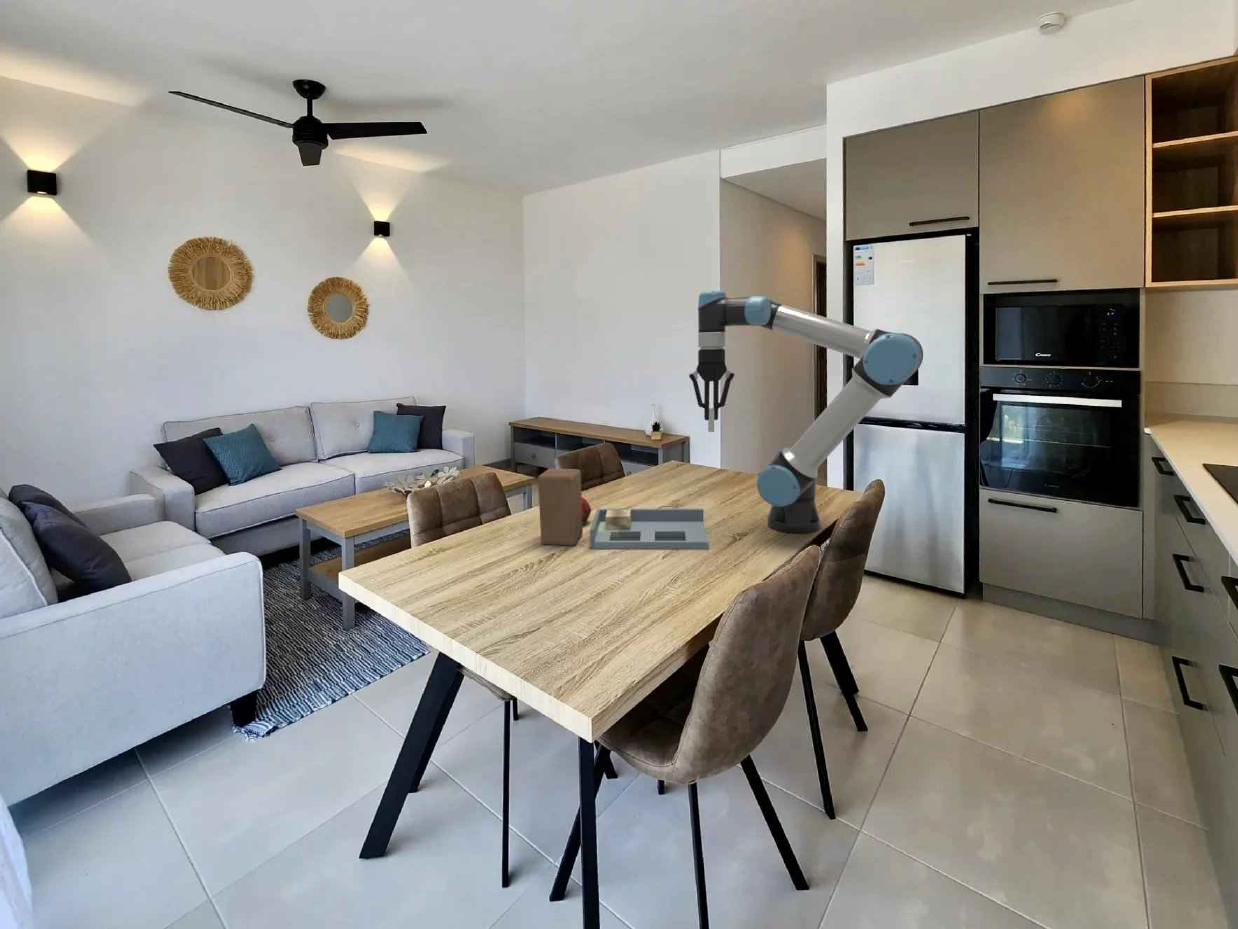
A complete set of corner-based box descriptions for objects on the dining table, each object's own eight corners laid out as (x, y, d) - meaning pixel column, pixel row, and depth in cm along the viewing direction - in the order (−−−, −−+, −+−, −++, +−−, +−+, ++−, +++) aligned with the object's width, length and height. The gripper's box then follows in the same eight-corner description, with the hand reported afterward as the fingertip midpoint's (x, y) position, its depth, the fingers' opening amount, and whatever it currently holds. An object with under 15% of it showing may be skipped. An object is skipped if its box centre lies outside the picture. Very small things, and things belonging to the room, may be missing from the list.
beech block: (631, 522, 180) (630, 509, 179) (630, 529, 173) (629, 516, 173) (607, 522, 181) (607, 509, 180) (605, 530, 174) (605, 516, 173)
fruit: (586, 517, 193) (585, 487, 191) (594, 525, 185) (593, 494, 183) (558, 520, 191) (557, 489, 189) (565, 529, 182) (564, 497, 180)
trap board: (702, 526, 182) (703, 508, 181) (708, 549, 162) (708, 529, 161) (597, 526, 184) (597, 508, 183) (590, 548, 164) (590, 529, 163)
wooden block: (574, 546, 166) (571, 476, 162) (540, 545, 168) (536, 475, 164) (583, 535, 176) (581, 468, 172) (550, 533, 178) (547, 467, 174)
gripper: (733, 347, 172) (732, 428, 177) (687, 348, 173) (687, 429, 178) (736, 348, 165) (735, 432, 170) (689, 349, 166) (689, 433, 171)
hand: (711, 431), depth 174 cm, fingers closed
